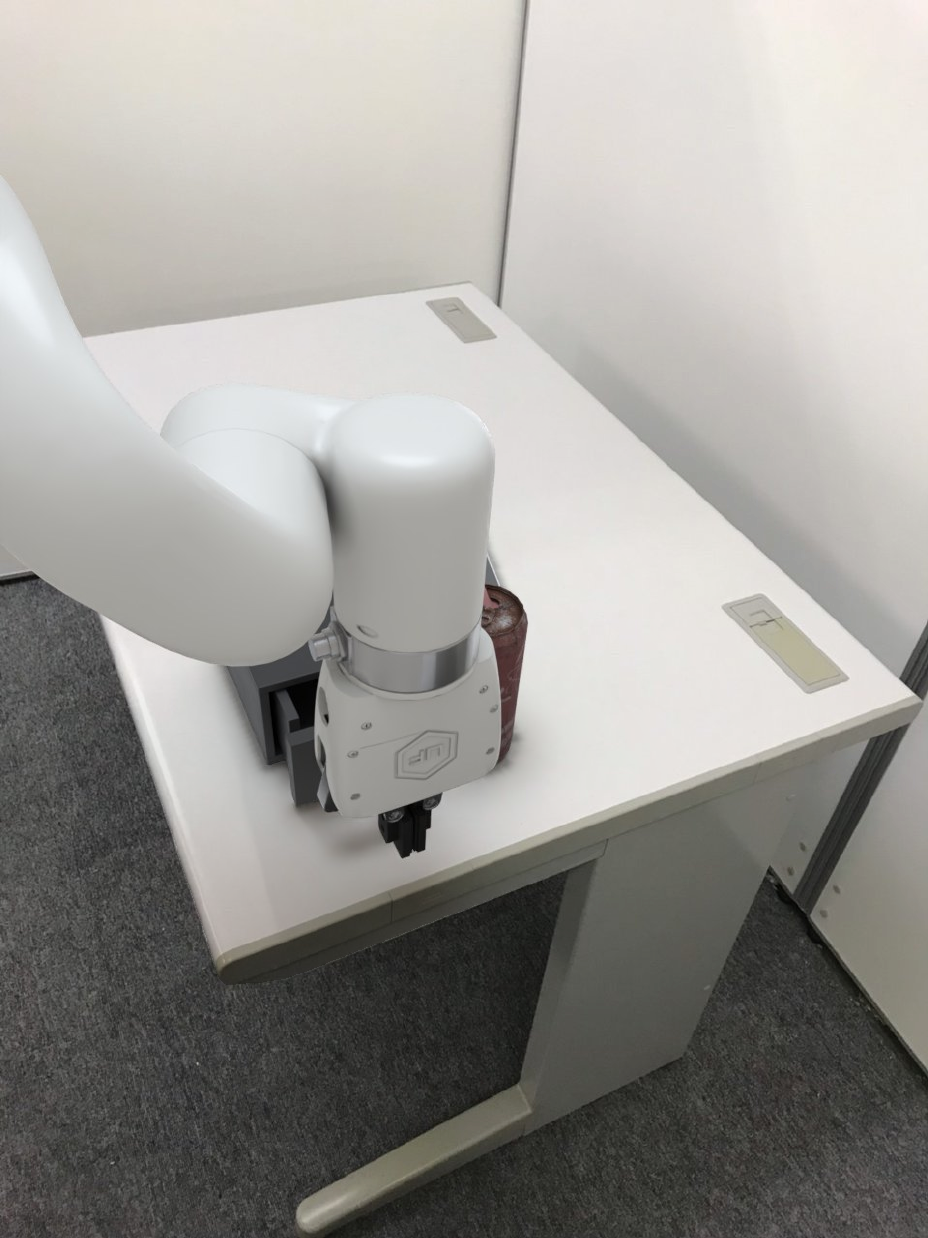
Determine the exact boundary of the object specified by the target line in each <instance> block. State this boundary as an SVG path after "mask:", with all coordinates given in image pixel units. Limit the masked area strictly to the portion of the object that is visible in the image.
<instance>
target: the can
mask: <svg viewBox="0 0 928 1238" xmlns="http://www.w3.org/2000/svg"><path fill="white" fill-rule="evenodd" d="M528 626H529V620H528V614H527V612H526V610H525V607H524V604H523V603H522V602H521V599H520V598H519V597H518V596H517V595H515V593H514V592H512V591H511V590H509V589H507V588H504V587H502V586H501V585H500V586H496V585H491V584H485V587H484V599H483V609H482V620H481V627H482V628H483V629H484V630H485V631H486V632H487V633H488V635H489V636H490V638H491V640H492V642H493V646H494V650H495V656H496V661H497V668H498V676H499V686H500V697H501V742H500V751H499V756H498V760H500V759H502V758H503V757H504V756H505V755H506V754H507V753H508V751H509V750H510V748H511V744H512V741H513V736H514V728H515V721H516V712H517V706H518V699H519V691H520V683H521V676H522V671H523V662H524V657H525V648H526V641H527V633H528ZM498 760H497V761H498Z"/></svg>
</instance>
